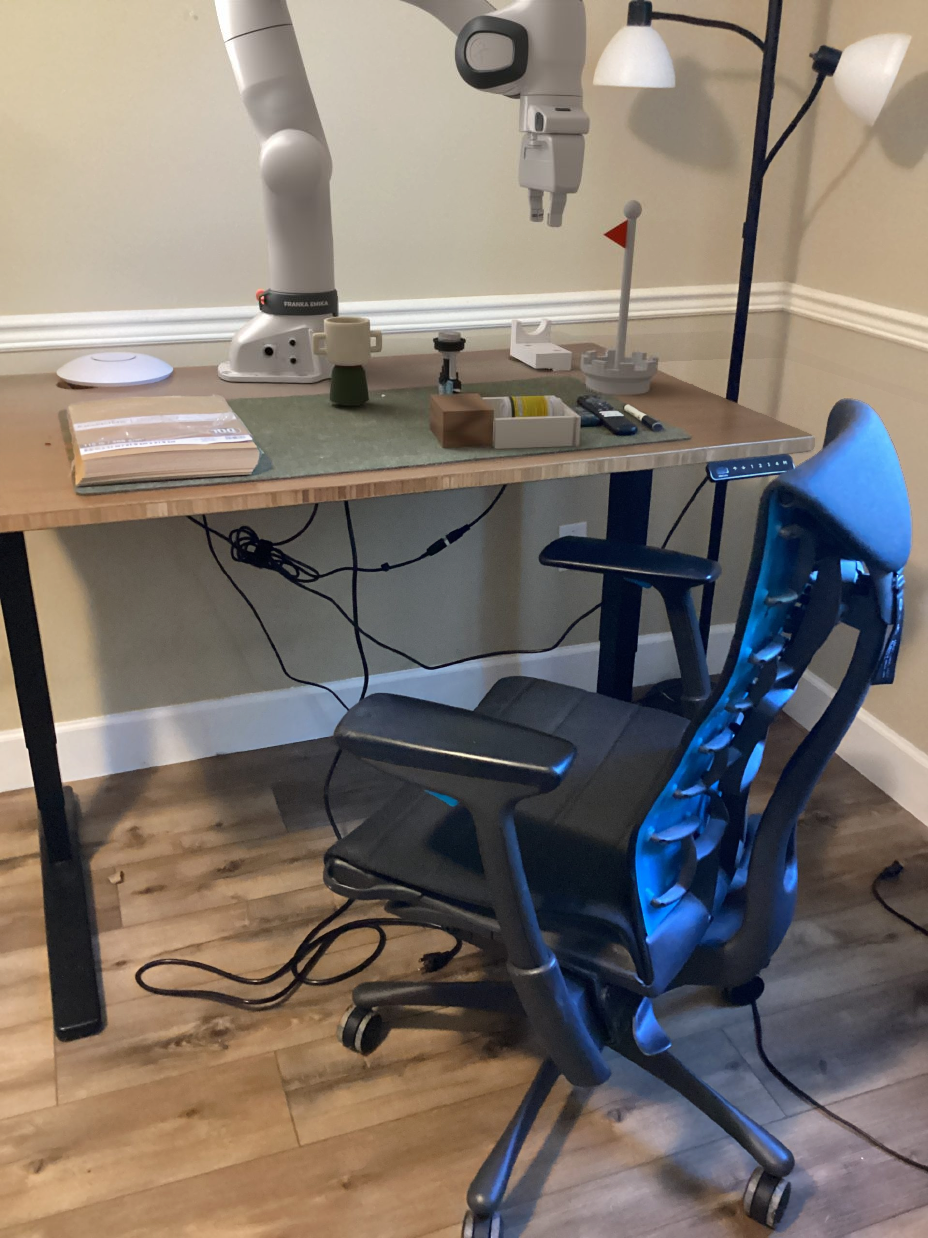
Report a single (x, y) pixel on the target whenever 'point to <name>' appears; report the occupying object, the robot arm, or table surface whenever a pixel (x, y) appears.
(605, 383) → the flag stand
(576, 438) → the grey tray
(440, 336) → the push button
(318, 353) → the cream and green trophy
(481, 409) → the walnut step
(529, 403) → the supplement bottle
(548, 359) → the bracket
